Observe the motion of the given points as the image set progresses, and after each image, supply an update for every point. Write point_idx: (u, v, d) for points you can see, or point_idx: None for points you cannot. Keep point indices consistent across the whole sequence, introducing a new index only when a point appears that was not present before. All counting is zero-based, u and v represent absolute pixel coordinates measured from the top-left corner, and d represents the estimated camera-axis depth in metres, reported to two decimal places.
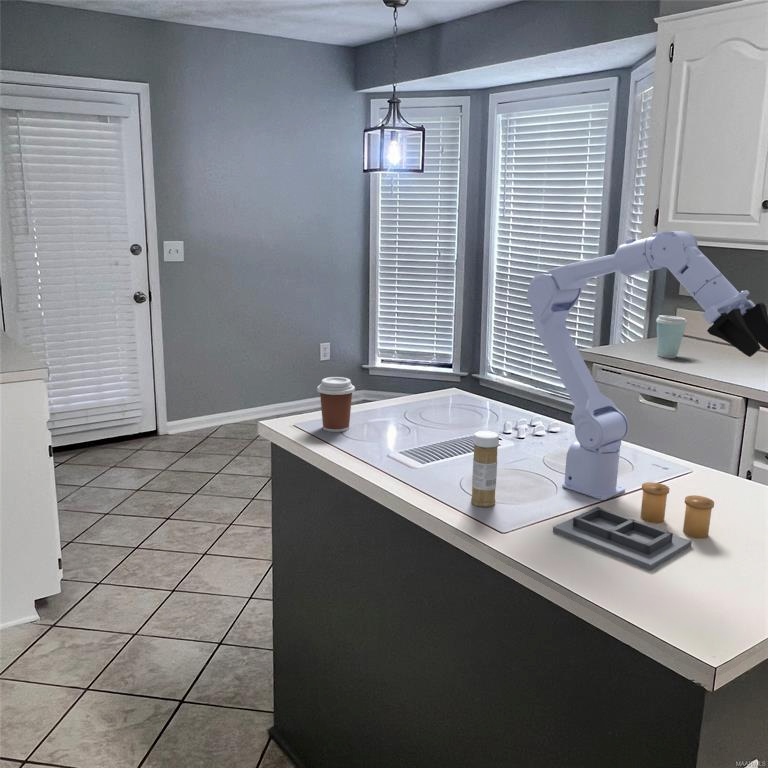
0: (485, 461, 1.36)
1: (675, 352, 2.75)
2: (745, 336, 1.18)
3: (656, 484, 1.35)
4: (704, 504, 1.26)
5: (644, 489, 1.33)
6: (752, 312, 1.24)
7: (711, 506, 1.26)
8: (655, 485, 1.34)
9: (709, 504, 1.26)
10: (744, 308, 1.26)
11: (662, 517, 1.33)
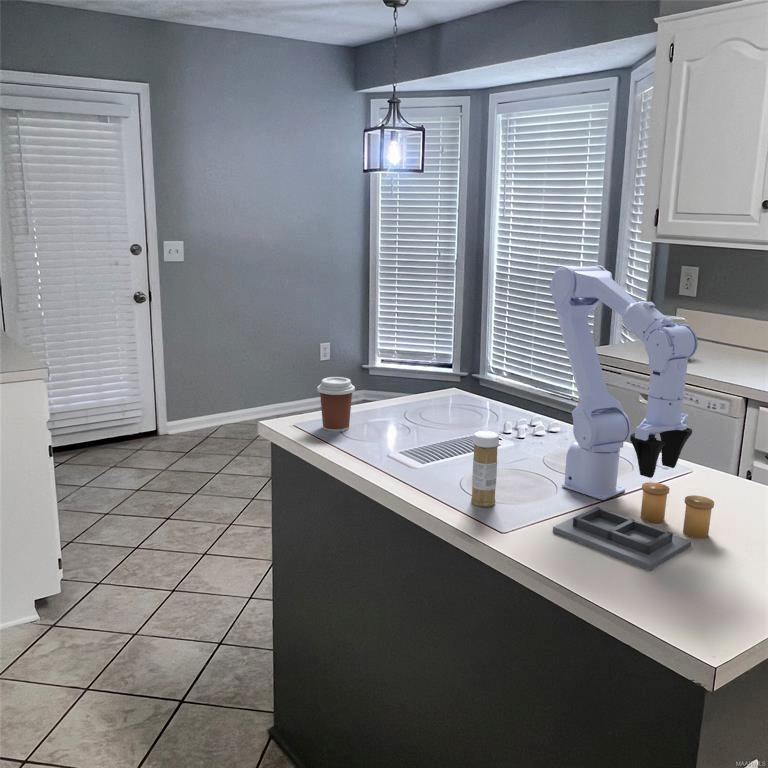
0: (485, 461, 1.36)
1: None
2: (650, 462, 1.29)
3: (656, 484, 1.35)
4: (704, 504, 1.26)
5: (644, 489, 1.33)
6: (678, 432, 1.33)
7: (711, 506, 1.26)
8: (655, 485, 1.34)
9: (709, 504, 1.26)
10: None
11: (662, 517, 1.33)
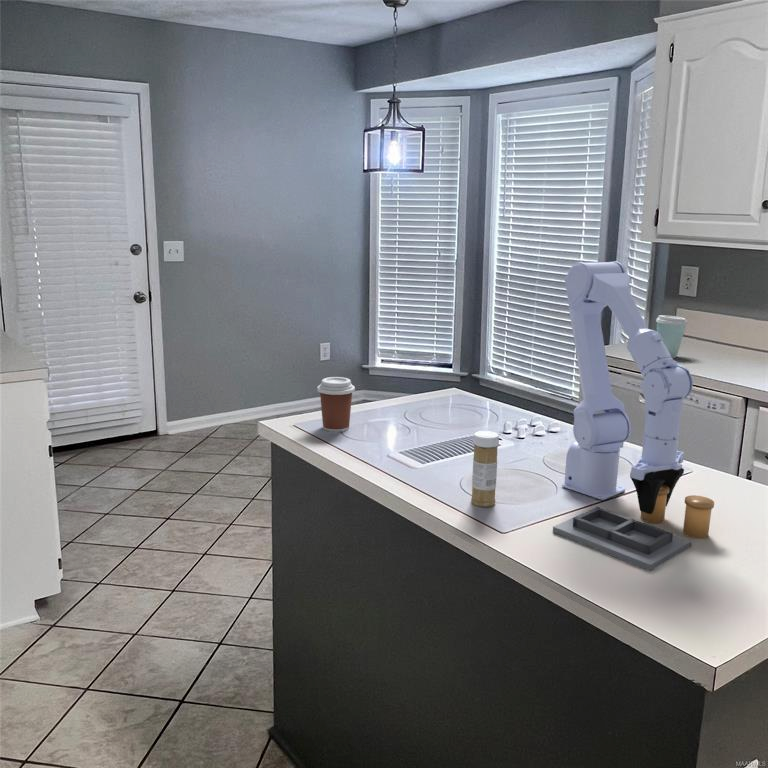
0: (485, 461, 1.36)
1: (675, 352, 2.75)
2: (650, 499, 1.31)
3: None
4: (704, 504, 1.26)
5: None
6: (669, 472, 1.34)
7: (711, 506, 1.26)
8: None
9: (709, 504, 1.26)
10: None
11: (662, 517, 1.33)
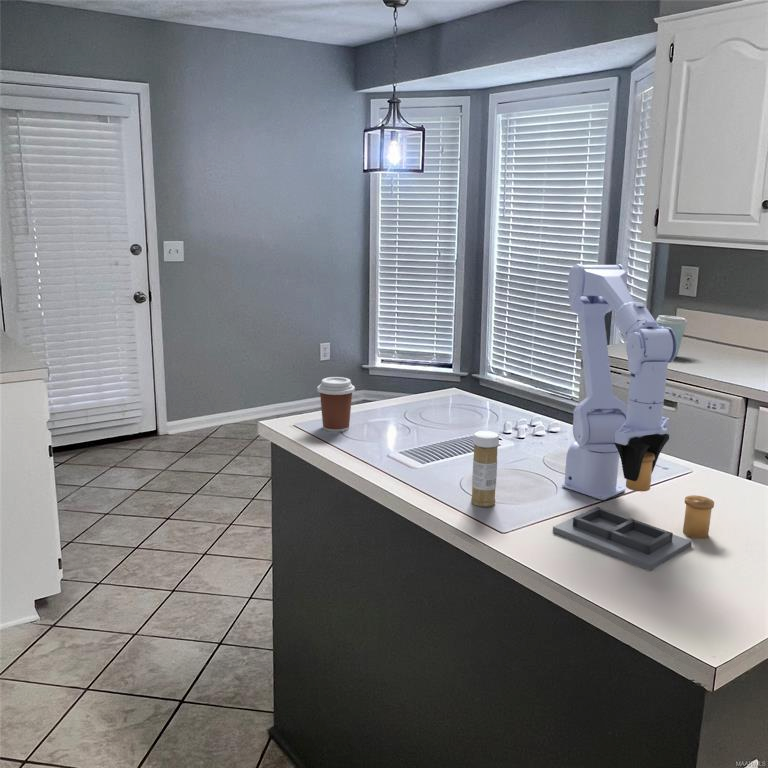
0: (485, 461, 1.36)
1: None
2: (634, 465, 1.27)
3: None
4: (704, 504, 1.26)
5: None
6: (654, 438, 1.30)
7: (711, 506, 1.26)
8: None
9: (709, 504, 1.26)
10: None
11: (648, 485, 1.29)
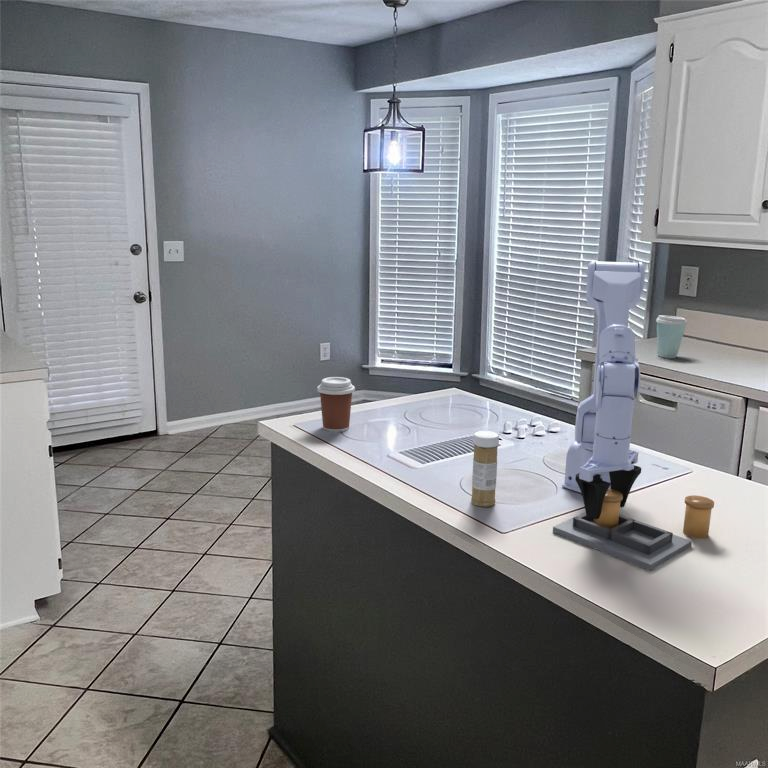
0: (485, 461, 1.36)
1: (675, 352, 2.75)
2: (596, 503, 1.24)
3: (609, 491, 1.29)
4: (704, 504, 1.26)
5: None
6: (626, 471, 1.28)
7: (711, 506, 1.26)
8: (608, 492, 1.28)
9: (709, 504, 1.26)
10: None
11: (615, 525, 1.27)
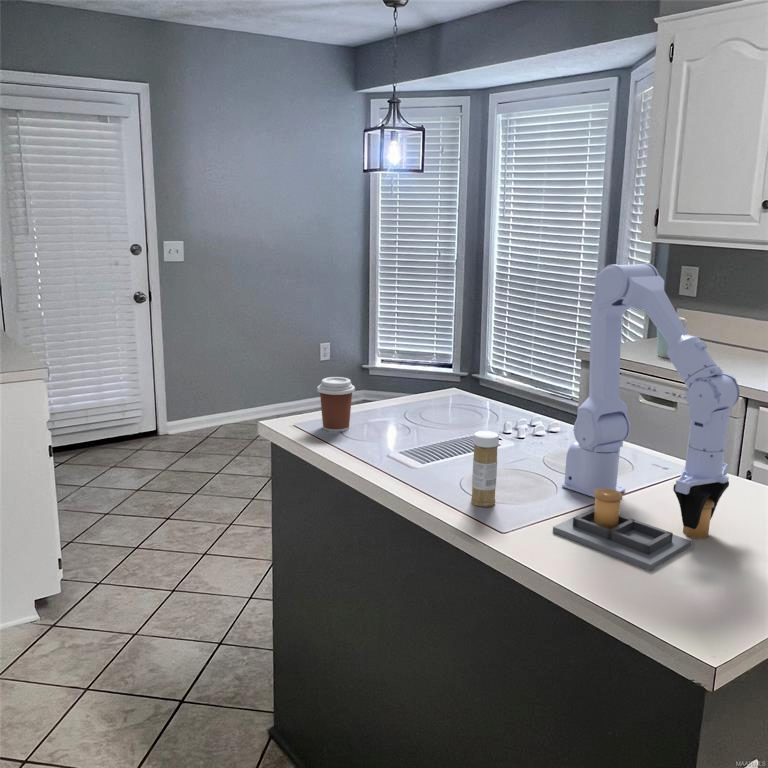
0: (485, 461, 1.36)
1: None
2: (694, 513, 1.26)
3: (609, 490, 1.29)
4: (704, 504, 1.26)
5: (596, 496, 1.27)
6: (714, 485, 1.28)
7: (711, 506, 1.26)
8: (607, 491, 1.28)
9: (709, 504, 1.26)
10: None
11: (615, 525, 1.27)
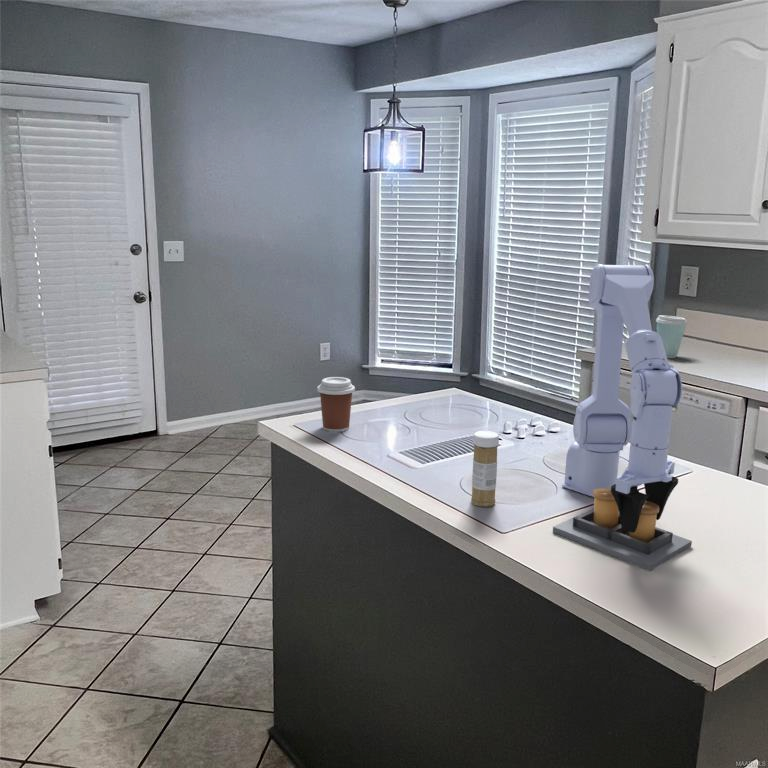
0: (485, 461, 1.36)
1: (675, 352, 2.75)
2: (632, 516, 1.19)
3: (607, 490, 1.29)
4: (648, 509, 1.21)
5: (596, 496, 1.27)
6: (663, 482, 1.23)
7: (656, 511, 1.21)
8: (606, 491, 1.28)
9: (654, 509, 1.21)
10: None
11: (616, 524, 1.27)
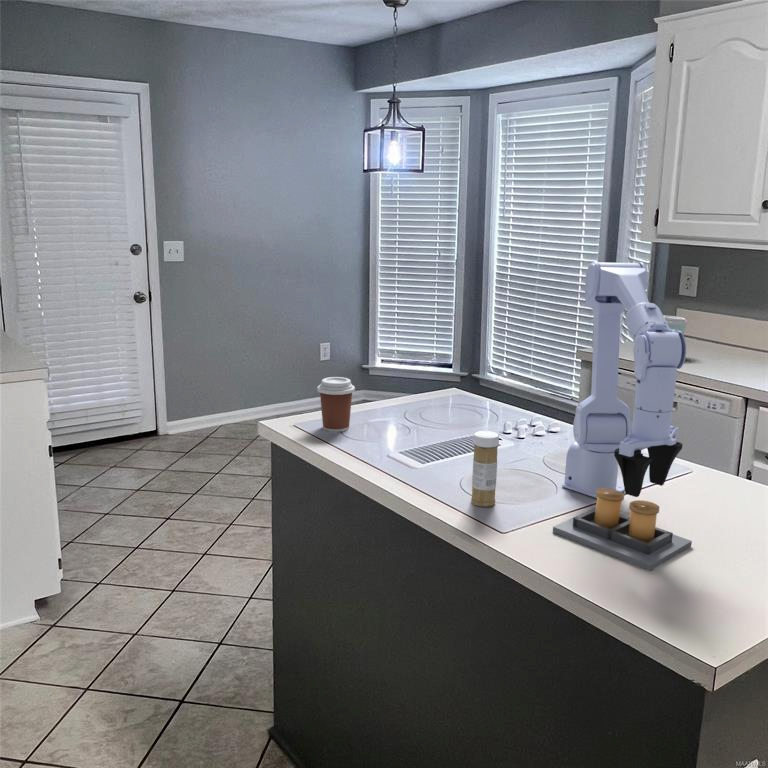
0: (485, 461, 1.36)
1: None
2: (636, 480, 1.18)
3: (609, 490, 1.29)
4: (648, 509, 1.21)
5: (601, 496, 1.26)
6: (667, 447, 1.22)
7: (656, 511, 1.21)
8: (608, 491, 1.28)
9: (654, 509, 1.21)
10: None
11: (617, 524, 1.27)
